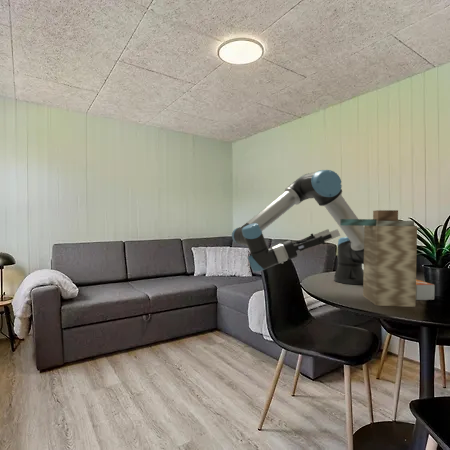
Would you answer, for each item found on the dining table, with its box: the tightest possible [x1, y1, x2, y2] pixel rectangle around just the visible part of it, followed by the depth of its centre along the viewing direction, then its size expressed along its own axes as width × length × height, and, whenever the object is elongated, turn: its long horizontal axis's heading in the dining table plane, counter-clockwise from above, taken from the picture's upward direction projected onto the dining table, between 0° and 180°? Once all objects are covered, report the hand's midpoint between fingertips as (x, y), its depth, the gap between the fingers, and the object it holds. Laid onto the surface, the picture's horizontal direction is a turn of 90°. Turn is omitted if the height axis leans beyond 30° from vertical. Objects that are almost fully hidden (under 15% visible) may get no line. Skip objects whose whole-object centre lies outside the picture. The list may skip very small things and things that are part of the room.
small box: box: [416, 278, 436, 301], centre depth 128 cm, size 8×6×13 cm
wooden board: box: [362, 220, 418, 308], centre depth 120 cm, size 14×14×32 cm
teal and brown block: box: [340, 209, 399, 226], centre depth 120 cm, size 20×7×6 cm, turn 78°
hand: (333, 232), depth 123 cm, fingers open, 13 cm apart
